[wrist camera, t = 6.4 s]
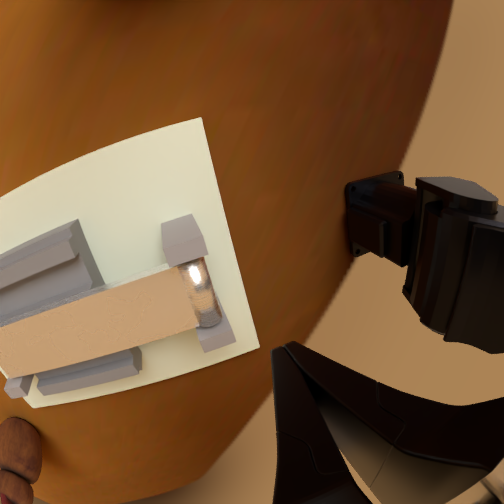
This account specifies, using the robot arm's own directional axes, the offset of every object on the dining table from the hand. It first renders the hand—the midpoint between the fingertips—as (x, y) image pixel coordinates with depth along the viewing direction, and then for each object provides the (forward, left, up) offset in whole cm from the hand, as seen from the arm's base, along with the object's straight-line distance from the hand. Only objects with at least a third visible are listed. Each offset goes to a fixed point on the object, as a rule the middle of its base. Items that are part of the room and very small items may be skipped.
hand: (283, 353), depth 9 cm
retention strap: (+10, +1, -8) cm, 13 cm away
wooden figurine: (+29, +14, -12) cm, 34 cm away
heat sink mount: (+11, +1, -12) cm, 16 cm away
